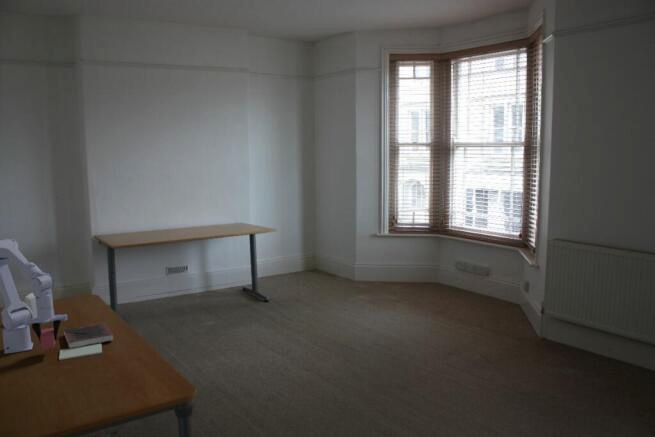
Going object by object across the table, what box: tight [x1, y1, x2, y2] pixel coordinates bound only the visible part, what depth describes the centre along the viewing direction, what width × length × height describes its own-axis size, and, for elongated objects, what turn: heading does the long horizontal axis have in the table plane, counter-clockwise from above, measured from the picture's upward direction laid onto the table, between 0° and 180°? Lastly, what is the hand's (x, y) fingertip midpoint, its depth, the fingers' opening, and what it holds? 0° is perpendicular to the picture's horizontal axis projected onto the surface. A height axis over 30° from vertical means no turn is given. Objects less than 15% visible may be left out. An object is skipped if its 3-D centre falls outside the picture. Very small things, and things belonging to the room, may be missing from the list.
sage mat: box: [58, 343, 103, 361], centre depth 221 cm, size 15×10×1 cm, turn 113°
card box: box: [40, 327, 57, 350], centre depth 218 cm, size 9×4×5 cm, turn 22°
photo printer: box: [23, 292, 37, 318], centre depth 267 cm, size 10×4×12 cm, turn 152°
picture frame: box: [63, 322, 114, 349], centre depth 236 cm, size 16×2×22 cm
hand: (48, 340), depth 219 cm, fingers closed on card box, 4 cm apart
